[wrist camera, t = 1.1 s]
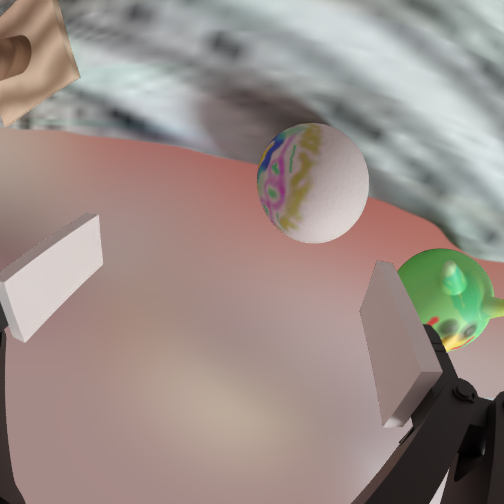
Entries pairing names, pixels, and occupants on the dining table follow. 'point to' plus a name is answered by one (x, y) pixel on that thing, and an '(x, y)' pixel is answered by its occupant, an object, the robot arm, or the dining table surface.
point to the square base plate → (33, 56)
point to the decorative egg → (313, 182)
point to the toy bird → (450, 295)
